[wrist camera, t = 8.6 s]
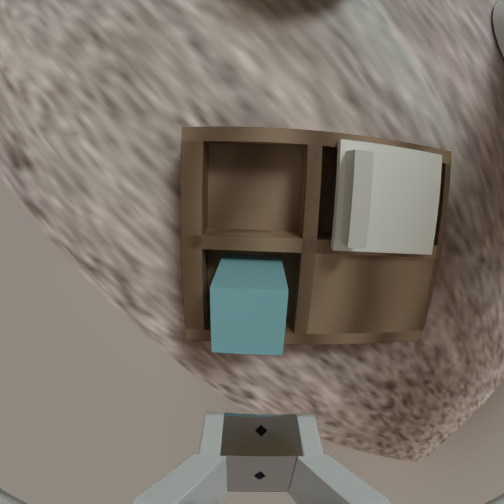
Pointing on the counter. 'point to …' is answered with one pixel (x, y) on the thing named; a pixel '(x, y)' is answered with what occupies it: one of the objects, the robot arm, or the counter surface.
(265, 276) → the block
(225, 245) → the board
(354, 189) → the cover
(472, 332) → the counter surface
